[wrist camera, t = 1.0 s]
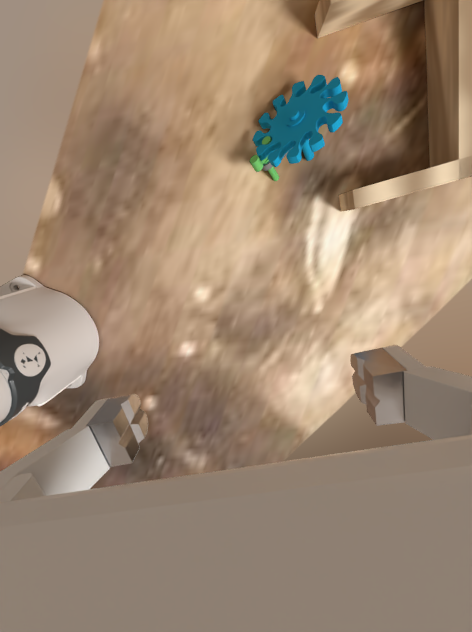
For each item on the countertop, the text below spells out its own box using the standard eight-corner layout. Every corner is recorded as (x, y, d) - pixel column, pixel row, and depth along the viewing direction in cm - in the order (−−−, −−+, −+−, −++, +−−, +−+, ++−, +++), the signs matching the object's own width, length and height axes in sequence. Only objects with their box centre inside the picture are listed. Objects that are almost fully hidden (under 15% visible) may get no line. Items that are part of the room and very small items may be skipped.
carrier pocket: (340, 211, 33) (354, 208, 29) (314, 14, 27) (327, -25, 23) (447, 181, 32) (478, 174, 27) (444, -34, 26) (484, -86, 21)
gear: (314, 54, 27) (368, 93, 22) (327, 106, 32) (374, 147, 27) (231, 133, 31) (262, 181, 26) (254, 169, 36) (284, 215, 31)
